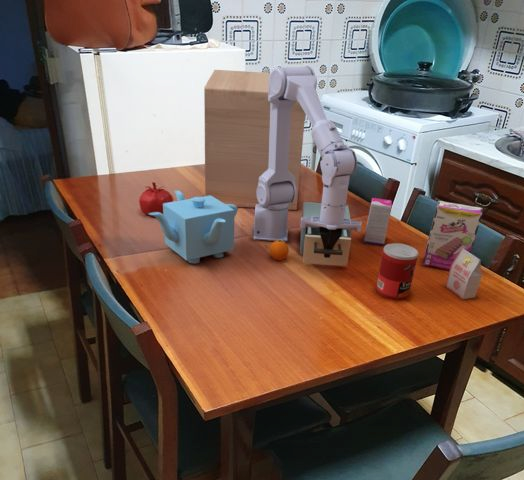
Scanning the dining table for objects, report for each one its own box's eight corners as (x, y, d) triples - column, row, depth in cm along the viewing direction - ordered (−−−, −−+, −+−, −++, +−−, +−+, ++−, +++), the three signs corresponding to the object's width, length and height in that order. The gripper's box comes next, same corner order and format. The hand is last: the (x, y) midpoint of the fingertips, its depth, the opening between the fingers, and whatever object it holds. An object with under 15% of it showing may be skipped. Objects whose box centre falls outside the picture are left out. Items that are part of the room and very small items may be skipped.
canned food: (402, 303, 127) (412, 260, 121) (370, 293, 130) (378, 250, 124) (413, 291, 132) (423, 249, 126) (382, 281, 136) (390, 240, 130)
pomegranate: (164, 221, 161) (162, 190, 155) (134, 215, 163) (131, 184, 158) (179, 210, 169) (178, 180, 163) (149, 205, 171) (148, 175, 166)
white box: (457, 284, 137) (468, 247, 131) (475, 297, 132) (486, 259, 126) (445, 286, 136) (455, 248, 130) (462, 299, 130) (473, 260, 125)
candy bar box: (421, 266, 144) (436, 205, 135) (423, 258, 148) (437, 199, 139) (465, 274, 142) (483, 213, 132) (466, 266, 146) (483, 206, 136)
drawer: (348, 275, 136) (352, 248, 131) (302, 272, 136) (305, 244, 132) (343, 243, 152) (347, 218, 148) (302, 240, 152) (305, 215, 148)
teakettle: (240, 243, 150) (241, 190, 142) (224, 273, 135) (225, 215, 127) (173, 235, 153) (171, 183, 144) (151, 263, 137) (147, 206, 129)
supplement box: (384, 245, 154) (392, 206, 148) (363, 243, 155) (370, 203, 149) (384, 238, 159) (392, 199, 152) (364, 235, 160) (370, 197, 153)
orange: (268, 262, 142) (269, 243, 139) (269, 254, 146) (270, 235, 143) (287, 263, 141) (289, 245, 138) (288, 255, 146) (289, 237, 143)
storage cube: (296, 210, 174) (307, 93, 154) (205, 205, 173) (204, 87, 153) (292, 177, 202) (301, 74, 182) (214, 173, 201) (214, 69, 182)
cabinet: (347, 258, 146) (352, 225, 141) (300, 254, 146) (303, 222, 141) (343, 235, 159) (347, 204, 154) (300, 232, 159) (303, 201, 154)
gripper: (302, 206, 125) (297, 260, 133) (366, 211, 125) (357, 265, 133) (302, 196, 131) (297, 248, 139) (363, 200, 131) (355, 253, 138)
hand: (326, 256), depth 136 cm, fingers closed, pressing on drawer
